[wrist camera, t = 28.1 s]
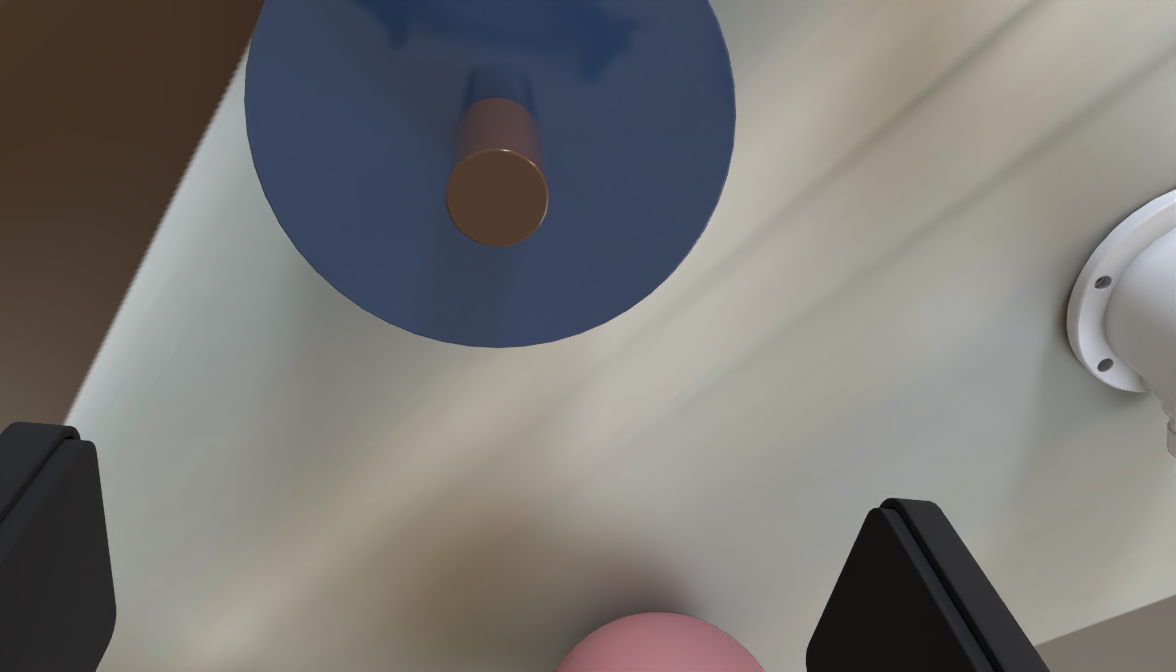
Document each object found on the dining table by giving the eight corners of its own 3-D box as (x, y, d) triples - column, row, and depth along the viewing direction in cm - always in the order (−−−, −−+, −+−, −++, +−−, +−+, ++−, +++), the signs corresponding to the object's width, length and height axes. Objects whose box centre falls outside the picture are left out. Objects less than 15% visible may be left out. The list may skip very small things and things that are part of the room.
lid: (772, 248, 29) (834, 337, 24) (389, 384, 30) (366, 497, 25) (649, -228, 22) (697, -254, 16) (152, -21, 23) (48, 17, 18)
